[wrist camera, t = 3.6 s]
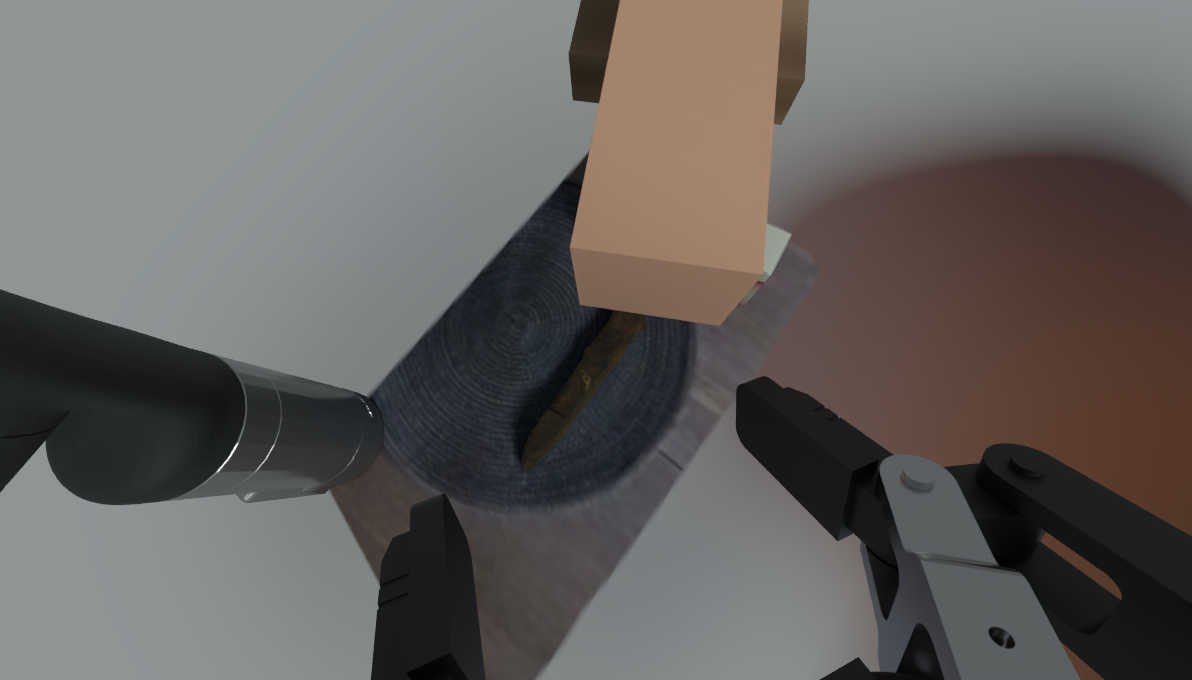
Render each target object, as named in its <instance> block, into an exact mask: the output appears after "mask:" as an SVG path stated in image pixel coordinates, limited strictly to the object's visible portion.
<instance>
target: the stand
mask: <svg viewBox="0 0 1192 680" xmlns="http://www.w3.org/2000/svg"><path fill="white" fill-rule="evenodd" d="M808 2H809V0H783V2H782V16H781V30H780V44H779V58H778V72H777V86H776V100H775V114H774V124H778V125H781V124H782V122H783V120H784V118H785V116H786V115H787V113H788V111H789V109H790V107H791V105H792V103H793V101H794V99H795V97H796V95H797V93H798V92H799V90H800V88H801V86H802V84H803V82H804V80H805V63H806V62H805V61H806V43H807V22H808V4H809V3H808ZM619 3H620V0H581V3H580V7H579V12H578V16H577V20H576V25H575V29H574V33H573V37H572V42H571V46H570V50H569V62H570V73H571V84H572V95H573V100H576V101H585V102H593V103H599V101H600V97H601V92H602V87H603V82H604V77H605V72H606V67H607V62H608V57H609V52H610V47H611V42H612V37H613V32H614V27H615V22H616V18H617V13H618V8H619Z"/></svg>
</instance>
